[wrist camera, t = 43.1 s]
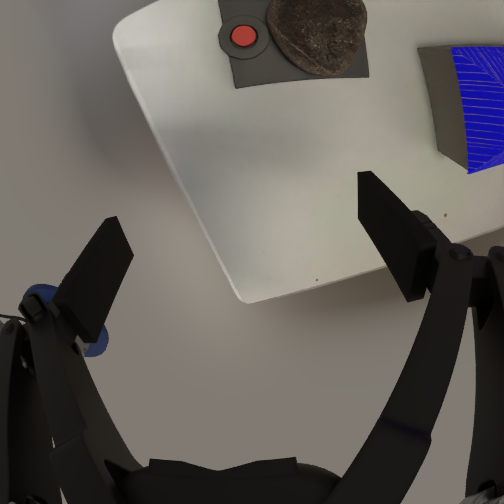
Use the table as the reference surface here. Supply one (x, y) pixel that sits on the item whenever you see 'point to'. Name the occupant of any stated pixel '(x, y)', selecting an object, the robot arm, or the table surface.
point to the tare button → (243, 36)
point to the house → (467, 102)
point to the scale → (267, 49)
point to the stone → (318, 32)
